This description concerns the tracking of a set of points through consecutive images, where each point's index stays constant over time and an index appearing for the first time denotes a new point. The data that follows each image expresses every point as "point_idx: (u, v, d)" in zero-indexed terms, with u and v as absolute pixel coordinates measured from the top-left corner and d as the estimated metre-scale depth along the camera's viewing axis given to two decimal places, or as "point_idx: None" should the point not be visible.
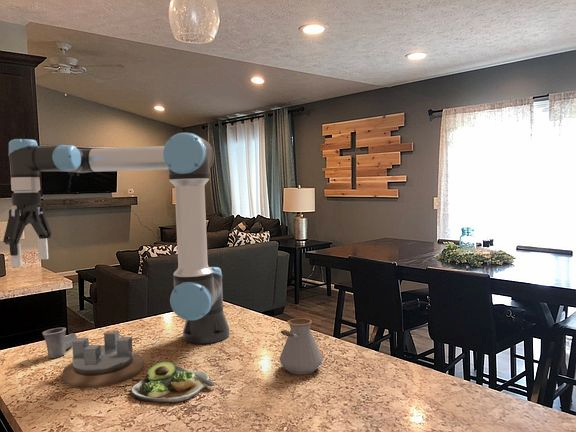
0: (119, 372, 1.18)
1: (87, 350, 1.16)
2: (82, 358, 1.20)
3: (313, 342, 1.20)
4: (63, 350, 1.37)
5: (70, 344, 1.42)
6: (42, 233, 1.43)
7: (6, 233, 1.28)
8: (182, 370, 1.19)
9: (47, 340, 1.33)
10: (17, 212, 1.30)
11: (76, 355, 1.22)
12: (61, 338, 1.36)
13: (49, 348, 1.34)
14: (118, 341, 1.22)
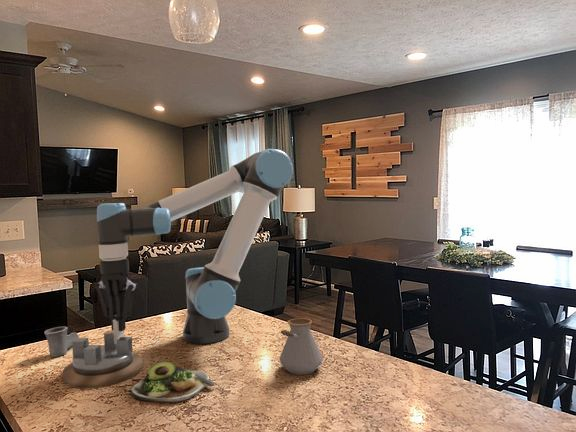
0: (119, 372, 1.18)
1: (87, 350, 1.16)
2: (82, 358, 1.20)
3: (313, 342, 1.20)
4: (65, 349, 1.38)
5: (71, 343, 1.43)
6: None
7: None
8: (182, 370, 1.19)
9: (49, 339, 1.34)
10: (96, 287, 1.29)
11: (76, 355, 1.22)
12: (63, 337, 1.37)
13: (51, 347, 1.35)
14: (118, 341, 1.22)
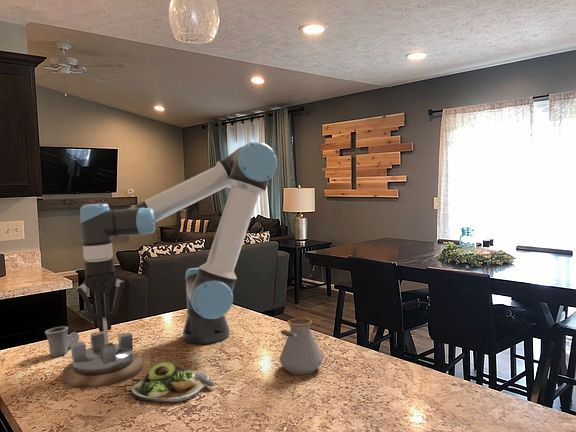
0: (119, 372, 1.18)
1: (107, 348, 1.17)
2: (89, 360, 1.19)
3: (313, 342, 1.20)
4: (65, 349, 1.38)
5: (72, 343, 1.43)
6: (105, 310, 1.28)
7: None
8: (182, 370, 1.19)
9: (49, 339, 1.35)
10: (79, 292, 1.24)
11: (78, 360, 1.19)
12: (63, 337, 1.37)
13: (51, 347, 1.35)
14: (122, 337, 1.25)
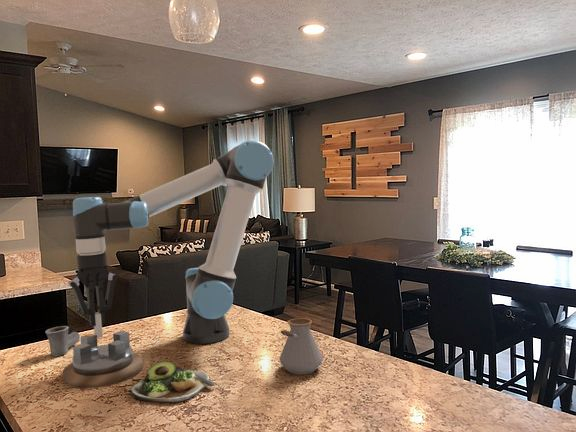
0: (119, 372, 1.18)
1: (118, 345, 1.19)
2: (97, 360, 1.18)
3: (313, 342, 1.20)
4: (66, 348, 1.38)
5: (72, 342, 1.43)
6: (99, 304, 1.28)
7: (79, 305, 1.26)
8: (182, 370, 1.19)
9: (50, 338, 1.35)
10: (72, 286, 1.23)
11: (84, 362, 1.17)
12: (64, 336, 1.37)
13: (52, 346, 1.36)
14: (121, 335, 1.27)
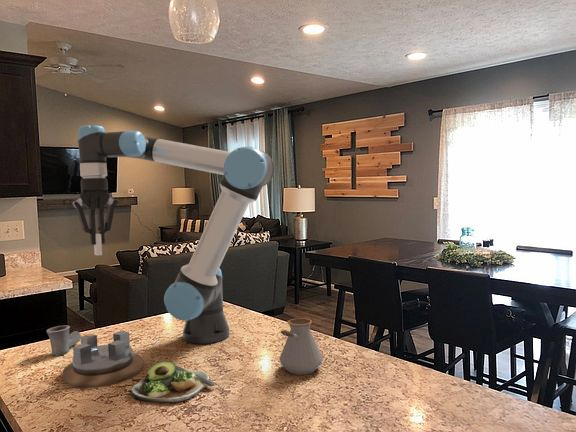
0: (119, 372, 1.18)
1: (118, 345, 1.19)
2: (97, 360, 1.18)
3: (313, 342, 1.20)
4: (67, 348, 1.39)
5: (73, 342, 1.44)
6: (99, 225, 1.40)
7: (81, 224, 1.38)
8: (182, 370, 1.19)
9: (51, 338, 1.35)
10: (76, 205, 1.35)
11: (84, 362, 1.17)
12: (65, 336, 1.38)
13: (53, 346, 1.36)
14: (121, 335, 1.27)
